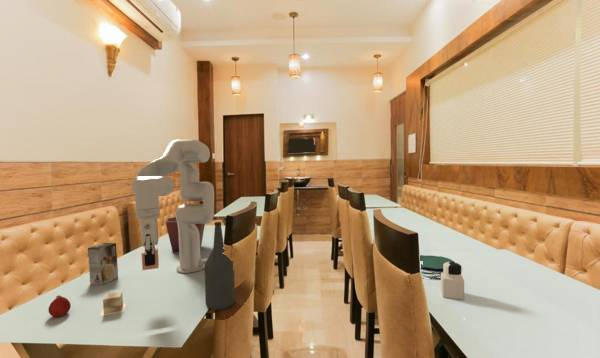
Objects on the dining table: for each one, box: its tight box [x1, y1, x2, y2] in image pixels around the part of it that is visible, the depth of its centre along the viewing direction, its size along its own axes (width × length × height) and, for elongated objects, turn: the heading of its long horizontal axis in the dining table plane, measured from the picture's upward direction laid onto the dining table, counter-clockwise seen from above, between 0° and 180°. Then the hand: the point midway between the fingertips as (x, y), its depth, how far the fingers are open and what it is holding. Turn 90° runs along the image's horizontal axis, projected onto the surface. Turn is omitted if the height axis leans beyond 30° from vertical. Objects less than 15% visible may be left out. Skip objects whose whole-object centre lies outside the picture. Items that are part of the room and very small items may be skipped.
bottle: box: [203, 221, 236, 311], centre depth 112 cm, size 10×10×30 cm
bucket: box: [165, 216, 206, 254], centre depth 186 cm, size 24×22×25 cm
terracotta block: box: [141, 247, 160, 271], centre depth 112 cm, size 5×5×6 cm
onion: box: [48, 294, 72, 318], centre depth 104 cm, size 6×6×8 cm
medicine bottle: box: [440, 261, 465, 300], centre depth 116 cm, size 7×7×12 cm
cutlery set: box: [420, 254, 455, 280], centre depth 146 cm, size 20×30×2 cm, turn 163°
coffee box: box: [87, 242, 119, 286], centre depth 137 cm, size 9×6×16 cm
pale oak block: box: [102, 291, 124, 314], centre depth 107 cm, size 5×5×5 cm
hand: (150, 262), depth 112 cm, fingers closed on terracotta block, 5 cm apart
